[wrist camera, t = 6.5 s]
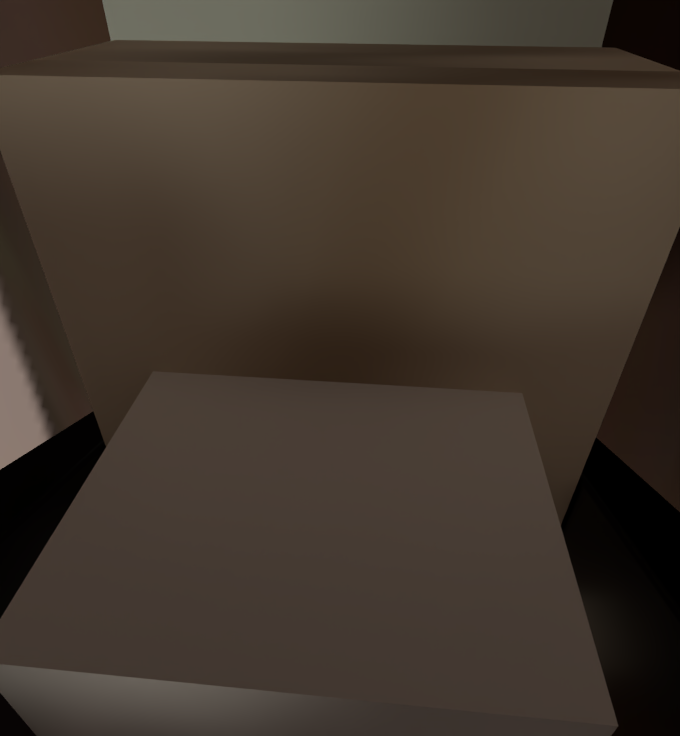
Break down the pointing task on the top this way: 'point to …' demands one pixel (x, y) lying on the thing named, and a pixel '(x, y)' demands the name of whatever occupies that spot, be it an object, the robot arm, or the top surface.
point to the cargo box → (308, 573)
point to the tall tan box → (352, 216)
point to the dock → (364, 21)
